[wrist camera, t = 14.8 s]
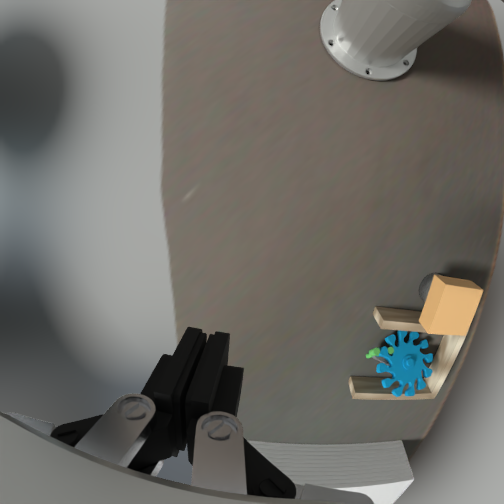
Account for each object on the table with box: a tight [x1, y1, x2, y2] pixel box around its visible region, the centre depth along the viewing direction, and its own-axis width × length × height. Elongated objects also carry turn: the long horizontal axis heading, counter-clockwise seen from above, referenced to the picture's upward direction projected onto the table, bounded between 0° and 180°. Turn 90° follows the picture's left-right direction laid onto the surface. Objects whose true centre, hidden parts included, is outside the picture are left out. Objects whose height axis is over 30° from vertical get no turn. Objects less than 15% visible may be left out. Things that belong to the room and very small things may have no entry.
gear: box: [366, 330, 433, 397], centre depth 39 cm, size 11×6×10 cm
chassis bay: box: [349, 306, 470, 400], centre depth 39 cm, size 13×15×4 cm
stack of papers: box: [247, 440, 414, 504], centre depth 45 cm, size 32×11×11 cm, turn 86°
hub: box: [419, 275, 483, 336], centre depth 32 cm, size 6×6×3 cm
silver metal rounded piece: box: [419, 273, 442, 302], centre depth 35 cm, size 4×4×6 cm
